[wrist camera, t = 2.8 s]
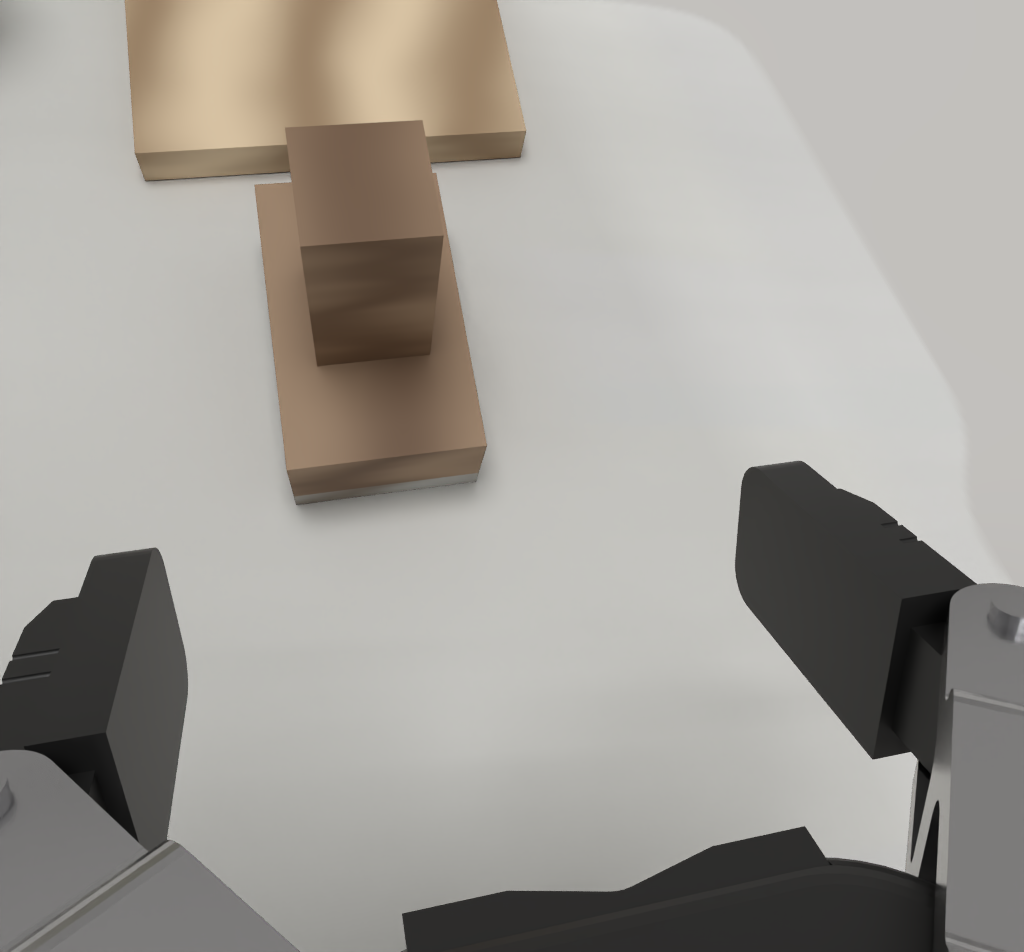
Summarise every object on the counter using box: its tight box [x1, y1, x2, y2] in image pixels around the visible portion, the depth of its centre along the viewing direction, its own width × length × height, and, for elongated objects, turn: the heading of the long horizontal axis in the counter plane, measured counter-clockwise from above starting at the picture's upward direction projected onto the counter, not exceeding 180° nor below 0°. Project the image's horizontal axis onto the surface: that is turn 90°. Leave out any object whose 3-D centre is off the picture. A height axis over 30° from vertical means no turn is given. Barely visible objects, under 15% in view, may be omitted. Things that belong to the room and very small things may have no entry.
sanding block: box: [255, 120, 487, 505], centre depth 27 cm, size 6×10×10 cm, turn 11°
